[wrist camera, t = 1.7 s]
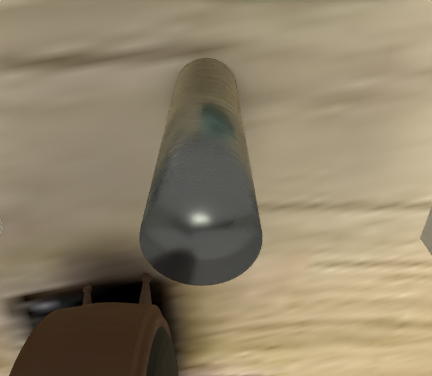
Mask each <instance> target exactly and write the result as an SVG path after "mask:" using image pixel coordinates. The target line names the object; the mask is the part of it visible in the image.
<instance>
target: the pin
mask: <svg viewBox="0 0 432 376" xmlns="http://www.w3.org/2000/svg"><path fill="white" fill-rule="evenodd" d="M140 245H141V249H142V252H143V254H144V256H145V258H146V259H147V261H148V262H149V263H150V264H151V265H152V266H153V268H154V269H156V270H157V271H158V272H159V273H161V274H162V275H164V276H166V277H168V278H170V279H172V280H174V281H177V282H180V283H184V284H189V285H200V286H203V285H214V284H219V283H223V282H226V281H229V280H231V279H233V278H236V277H237V276H239V275H241V274H242V273H243V272H245V271H246V270H247V269H248V268H249V267H250V266H251V265H252V264H253V263H254V261H255V260H256V258H257V257H258V255H259V252H260V250H261V246H262V230H261V224H260V218H259V213H258V207H257V201H256V196H255V190H254V184H253V179H252V173H251V167H250V162H249V156H248V150H247V145H246V139H245V133H244V128H243V122H242V116H241V111H240V105H239V99H238V94H237V88H236V82H235V79H234V76H233V74H232V72H231V71H230V70H229V68H228V67H227V66H226V65H224V64H223V63H221V62H219V61H217V60H215V59H209V58H202V59H197V60H194V61H192V62H190V63H189V64H187V65H186V66H185V67H184V68H183V69H182V71H181V72H180V74H179V76H178V79H177V83H176V87H175V91H174V95H173V99H172V103H171V107H170V111H169V115H168V119H167V123H166V127H165V131H164V135H163V139H162V143H161V147H160V151H159V155H158V160H157V164H156V168H155V172H154V176H153V180H152V184H151V188H150V192H149V196H148V200H147V204H146V208H145V212H144V216H143V220H142V224H141V228H140Z"/></svg>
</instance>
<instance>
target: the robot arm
mask: <svg viewBox="0 0 432 376" xmlns="http://www.w3.org/2000/svg"><path fill="white" fill-rule="evenodd" d="M3 231H4V228H3V225H2V221H1V218H0V235H1V234H2V233H3ZM420 239H421V240H422V242H423V243H424V245H425V246H426V247H427V249H428V250H429V252H430V253H431V255H432V207H431V210H430V213H429V216H428V218H427V221H426V224H425V227H424V229H423V232H422V235H421V237H420Z"/></svg>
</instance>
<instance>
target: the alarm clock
mask: <svg viewBox="0 0 432 376" xmlns="http://www.w3.org/2000/svg"><path fill="white" fill-rule="evenodd" d="M141 281H142V282H143V285H142V290H141V294H140V299H139V304H134V303H120V302H104V303H94V304H92V300H91V295H90V293H91V291H92V287H91V286H90V285H85V286H84V287H83V293H84V299H83V305H82V306H76V307H70V308H61V309H57V310H55V311H53V312H51V313H50V314H48V315H47V316H46V317H45V318H44V319H43V320H42V321H41V322H40V323H39V324H38V325H37V326H36V327H35V329H34V330H33V331H32V333H31V334H30V336H29V337H28V339H27V341H26V342H25V344H24V346H23V347H22V349H21V351H20V353H19V355H18V357H17V359H16V361H15V363H14V366H13V368H12V370H11V373H10V375H9V376H178V368H177V361H176V355H175V351H174V347H173V343H172V337H171V333H170V329H169V326H168V323H167V321H166V320H165V319H164V317H163V316H162V313H161V311H160V309H159V308H158V306H156V305H152V301H151V293H150V285H149V282H150V281H151V276H150V275H149V274H144V275H143V276H142V278H141Z"/></svg>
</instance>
